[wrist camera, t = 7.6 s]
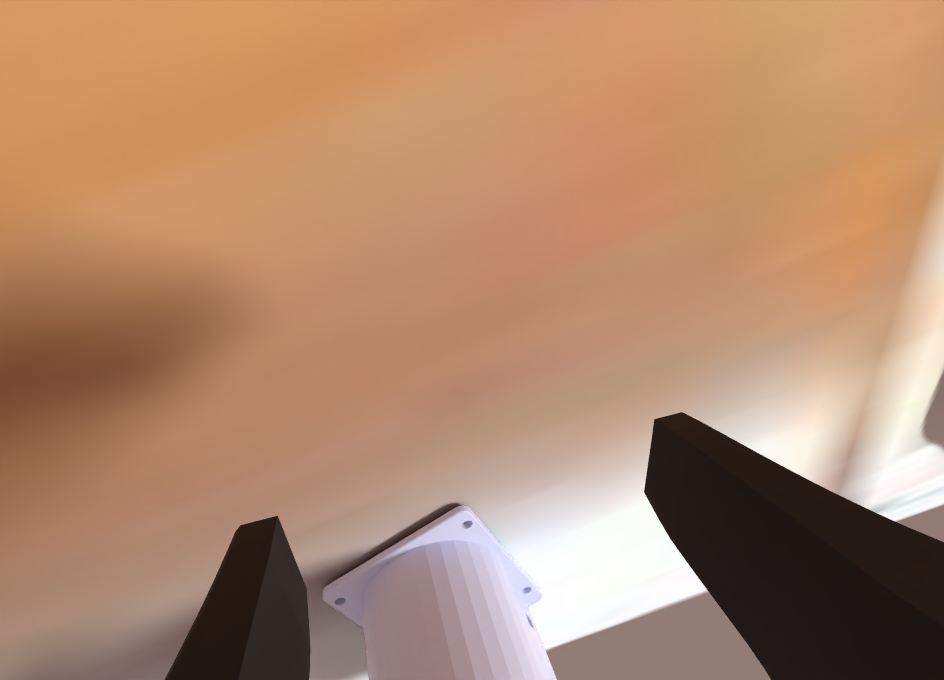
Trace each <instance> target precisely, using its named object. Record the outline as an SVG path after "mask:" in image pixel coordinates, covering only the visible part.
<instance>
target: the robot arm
mask: <svg viewBox="0 0 944 680" xmlns="http://www.w3.org/2000/svg"><path fill="white" fill-rule="evenodd" d="M644 493H645V495H646V496H647V498H648V500H649V502H650V504H651V506H652V507H653V509H654V511H655V513H656V515H657V517H658V518H659V520H660V522H661V524H662V525H663V527H664V529H665V530H666V532H667V534H668V536H669V537H670V539H671V540H672V542H673V543H674V545H675V546H676V547H677V549H678V550H679V552H680V553H681V554H682V556H683V557H684V558H685V560H686V561H687V563H688V564H689V565H690V567H691V568H692V569H693V571H694V572H695V574H696V575H697V576H698V578H699V579H700V580H701V582H702V583H703V584H704V586H705V587H706V588H707V590H708V591H709V592H710V594H711V595H712V597H713V598H714V599H715V601H716V602H717V603H718V605H719V606H720V607H721V609H722V610H723V611H724V613H725V614H726V615H727V617H728V618H729V620H730V621H731V622H732V623H733V625H734V626H735V628H736V629H737V630H738V632H739V633H740V634H741V636H742V637H743V638H744V640H745V641H746V643H747V644H748V645H749V647H750V648H751V650H752V651H753V652H754V654H755V656H756V657H757V658H758V660H759V661H760V663H761V664H762V666H763V667H764V669H765V670H766V672H767V673H768V675H769V677H770V678H771V680H944V542H942V541H939V540H937V539H934V538H932V537H929V536H927V535H925V534H923V533H920V532H918V531H916V530H913V529H911V528H908V527H906V526H903V525H901V524H899V523H897V522H895V521H892V520H890V519H888V518H886V517H884V516H881V515H879V514H877V513H875V512H873V511H871V510H869V509H866V508H864V507H862V506H860V505H858V504H856V503H854V502H852V501H850V500H848V499H846V498H844V497H841V496H839V495H837V494H835V493H833V492H831V491H829V490H827V489H825V488H823V487H821V486H819V485H817V484H815V483H813V482H811V481H809V480H807V479H806V478H804V477H802V476H800V475H798V474H796V473H794V472H792V471H790V470H788V469H786V468H785V467H783V466H781V465H779V464H777V463H775V462H773V461H772V460H770V459H768V458H766V457H764V456H762V455H760V454H759V453H757V452H755V451H753V450H751V449H750V448H748V447H746V446H744V445H742V444H740V443H739V442H737V441H735V440H733V439H731V438H730V437H728V436H726V435H724V434H722V433H720V432H719V431H717V430H715V429H713V428H711V427H709V426H708V425H706V424H704V423H702V422H700V421H698V420H696V419H694V418H692V417H690V416H688V415H687V414H685V413H682V412H681V413H677V414H673V415H669V416H665V417H661V418H658V419H655V420H654V427H653V434H652V441H651V448H650V455H649V462H648V469H647V476H646V483H645V490H644ZM465 521H466V522H465ZM322 592H323V600H324V601H325V602H326V603H327V604H329V605H330V606H332V607H333V608H335V609H336V610H337V611H339V612H340V613H342V614H343V615H345V616H346V617H348V618H349V619H350V620H352V621H353V622H355V623H356V624H358V625H359V626H361V627H362V628H363V629H364V635H365V645H366V655H367V666H368V676H369V680H557V679H556V677H555V674H554V671H553V669H552V666H551V664H550V661H549V659H548V656H547V653H546V651H545V648H544V646H543V643H542V641H541V638H540V636H539V633H538V630H537V628H536V625H535V623H534V620H533V618H532V615H531V613H530V610H529V608H528V607H529V606H531V605H533V604H534V603H536V602H537V601H539V600H540V599H541V597H542V593H541V591H540V588H539V587H538V586H537V585H536V584H535V582H534V581H533V580H532V579H531V578H530V577H529V576H528V574H527V573H526V572H525V571H524V570H523V569H522V568H521V566H520V565H519V564H518V563H517V562H516V561H515V560H514V558H513V557H512V556H511V555H510V554H509V553H508V552H507V550H506V549H505V548H504V547H503V546H502V545H501V544H500V542H499V541H498V540H497V539H496V538H495V537H494V536H493V534H492V533H491V532H490V531H489V530H488V529H487V528H486V526H485V525H484V524H483V523H482V522H481V521H480V520H479V518H478V517H477V516H476V515H475V514H474V513H473V512H472V510H471V509H470V508H469V507H467V506H458V507H456V508H454V509H452V510H451V511H449V512H447V513H446V514H444V515H442V516H441V517H439V518H437V519H436V520H434V521H432V522H431V523H429V524H428V525H426V526H424V527H423V528H421V529H419V530H418V531H416V532H414V533H413V534H411V535H409V536H408V537H406V538H404V539H403V540H401V541H400V542H398V543H396V544H395V545H393V546H391V547H390V548H388V549H386V550H385V551H383V552H381V553H380V554H378V555H377V556H375V557H373V558H372V559H370V560H368V561H367V562H365V563H363V564H362V565H360V566H358V567H357V568H355V569H353V570H352V571H350V572H349V573H347V574H345V575H344V576H342V577H340V578H339V579H337V580H335V581H334V582H332V583H330V584H329V585H327V586H326V587H325V588H324V589H323V591H322ZM309 671H310V635H309V618H308V604H307V590H306V586H305V584H304V581H303V579H302V576H301V574H300V571H299V568H298V566H297V563H296V561H295V558H294V556H293V553H292V551H291V548H290V546H289V543H288V541H287V538H286V536H285V533H284V531H283V528H282V526H281V523H280V521H279V518H278V516H275V517H271V518H267V519H263V520H260V521H256V522H252V523H248V524H244V525H240V527H239V528H238V529H237V530H236V532H235V534H234V536H233V539H232V541H231V543H230V546H229V548H228V550H227V553H226V555H225V557H224V559H223V562H222V564H221V566H220V568H219V571H218V573H217V575H216V577H215V579H214V582H213V584H212V586H211V588H210V590H209V592H208V594H207V597H206V599H205V601H204V603H203V605H202V607H201V609H200V611H199V613H198V615H197V617H196V619H195V621H194V623H193V625H192V627H191V629H190V631H189V633H188V635H187V637H186V639H185V641H184V643H183V645H182V647H181V649H180V651H179V653H178V655H177V657H176V659H175V661H174V663H173V665H172V667H171V669H170V671H169V672H168V674H167V676H166V678H165V680H309Z"/></svg>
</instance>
